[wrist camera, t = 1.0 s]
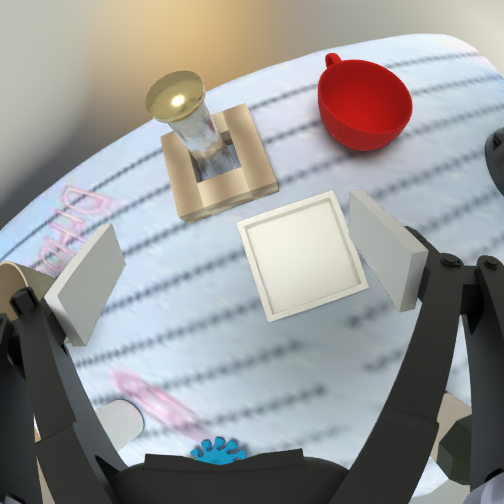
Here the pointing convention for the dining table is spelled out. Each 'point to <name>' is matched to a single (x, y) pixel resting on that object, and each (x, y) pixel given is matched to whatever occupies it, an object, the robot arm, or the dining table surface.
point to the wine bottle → (454, 439)
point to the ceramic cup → (362, 103)
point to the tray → (302, 256)
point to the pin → (190, 119)
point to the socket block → (227, 184)
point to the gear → (218, 452)
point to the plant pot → (20, 285)
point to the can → (120, 422)
